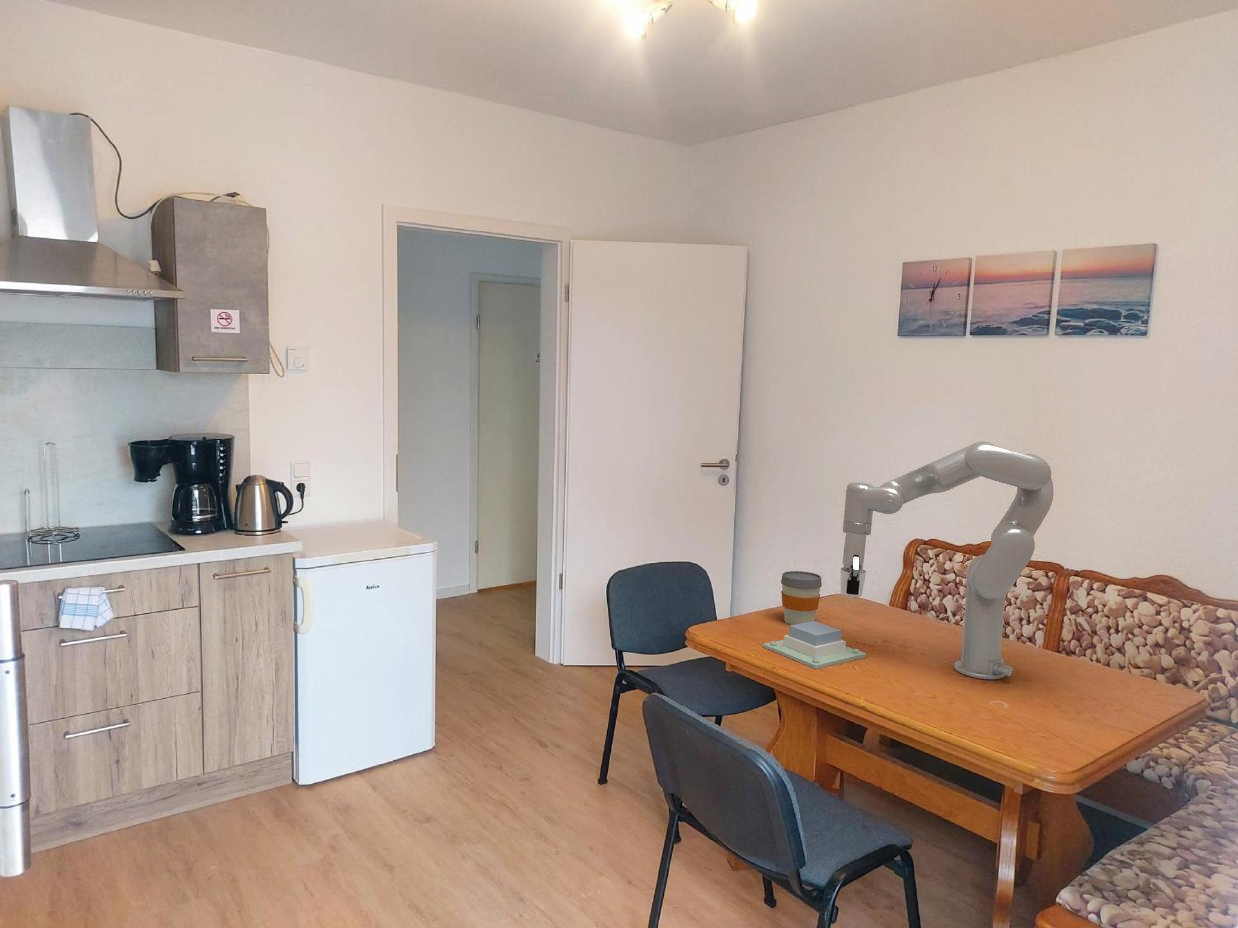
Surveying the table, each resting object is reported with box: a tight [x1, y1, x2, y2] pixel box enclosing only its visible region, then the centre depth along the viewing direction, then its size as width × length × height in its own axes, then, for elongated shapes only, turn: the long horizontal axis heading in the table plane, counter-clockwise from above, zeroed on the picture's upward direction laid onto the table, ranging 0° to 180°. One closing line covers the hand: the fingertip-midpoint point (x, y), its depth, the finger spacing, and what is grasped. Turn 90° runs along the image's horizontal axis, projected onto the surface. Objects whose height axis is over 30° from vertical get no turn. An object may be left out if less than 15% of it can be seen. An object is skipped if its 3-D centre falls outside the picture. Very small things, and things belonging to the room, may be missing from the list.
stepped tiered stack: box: [762, 620, 867, 670], centre depth 234 cm, size 20×20×7 cm
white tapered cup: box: [840, 566, 867, 598], centre depth 231 cm, size 7×7×7 cm
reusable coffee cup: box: [780, 570, 823, 626], centre depth 262 cm, size 13×13×15 cm
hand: (851, 590), depth 231 cm, fingers closed on white tapered cup, 6 cm apart
